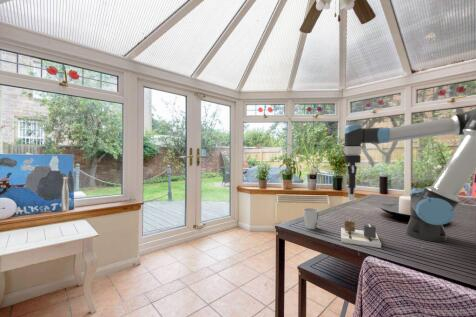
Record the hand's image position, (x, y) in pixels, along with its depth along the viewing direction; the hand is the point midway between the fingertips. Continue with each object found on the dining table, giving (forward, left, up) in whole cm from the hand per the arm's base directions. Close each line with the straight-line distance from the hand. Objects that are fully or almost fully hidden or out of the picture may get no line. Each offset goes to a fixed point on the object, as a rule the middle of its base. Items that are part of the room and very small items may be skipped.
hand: (351, 200), depth 111 cm
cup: (+20, +1, -17) cm, 26 cm away
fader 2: (-7, +11, -14) cm, 19 cm away
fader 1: (+1, +6, -14) cm, 15 cm away
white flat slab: (-3, +8, -17) cm, 19 cm away
